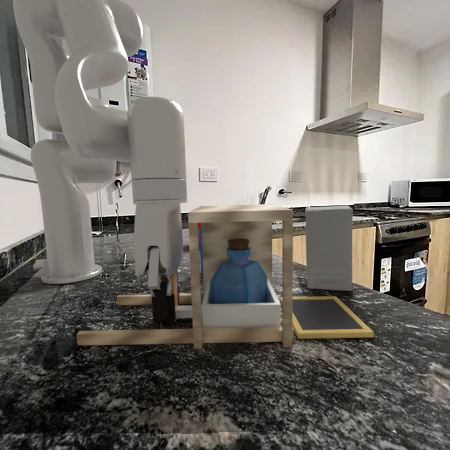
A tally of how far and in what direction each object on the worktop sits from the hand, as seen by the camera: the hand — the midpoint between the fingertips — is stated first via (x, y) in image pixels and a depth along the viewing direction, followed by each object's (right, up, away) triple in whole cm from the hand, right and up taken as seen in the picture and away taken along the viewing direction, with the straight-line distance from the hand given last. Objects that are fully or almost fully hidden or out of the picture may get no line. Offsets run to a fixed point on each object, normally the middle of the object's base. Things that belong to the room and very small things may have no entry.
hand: (167, 314), depth 39 cm
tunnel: (+11, 0, 0) cm, 11 cm away
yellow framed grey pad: (+23, 0, 0) cm, 23 cm away
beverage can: (+6, +2, +23) cm, 24 cm away
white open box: (+7, 0, 0) cm, 7 cm away
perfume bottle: (+11, -1, 0) cm, 11 cm away
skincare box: (+29, +1, +13) cm, 32 cm away
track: (+4, -1, 0) cm, 4 cm away
